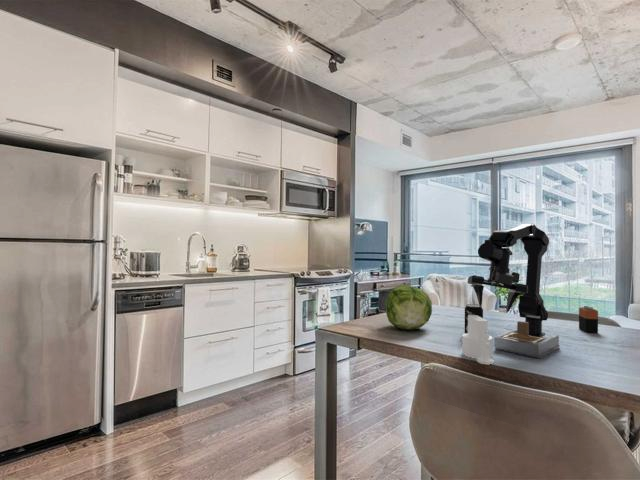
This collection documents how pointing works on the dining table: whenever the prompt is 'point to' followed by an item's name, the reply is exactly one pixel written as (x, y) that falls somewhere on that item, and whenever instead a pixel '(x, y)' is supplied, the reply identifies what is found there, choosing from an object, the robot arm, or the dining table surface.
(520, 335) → the box
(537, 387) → the dining table surface
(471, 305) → the beverage can
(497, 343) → the bay
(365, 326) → the dining table surface
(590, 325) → the battery
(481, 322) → the white stepped block
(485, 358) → the chess piece
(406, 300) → the lettuce
